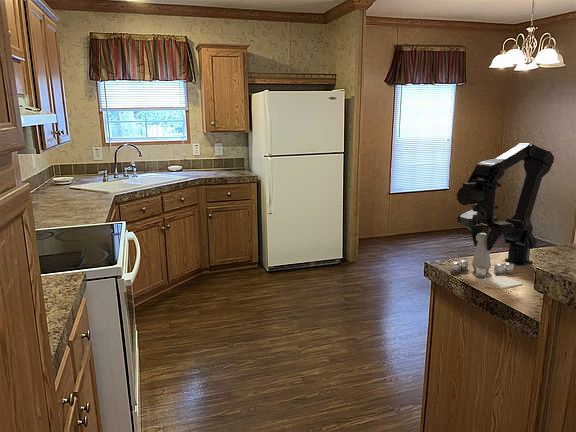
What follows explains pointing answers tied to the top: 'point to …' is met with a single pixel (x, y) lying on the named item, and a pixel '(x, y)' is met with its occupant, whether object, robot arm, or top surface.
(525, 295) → the top surface
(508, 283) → the mat
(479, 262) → the salt shaker
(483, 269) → the spacer posts
